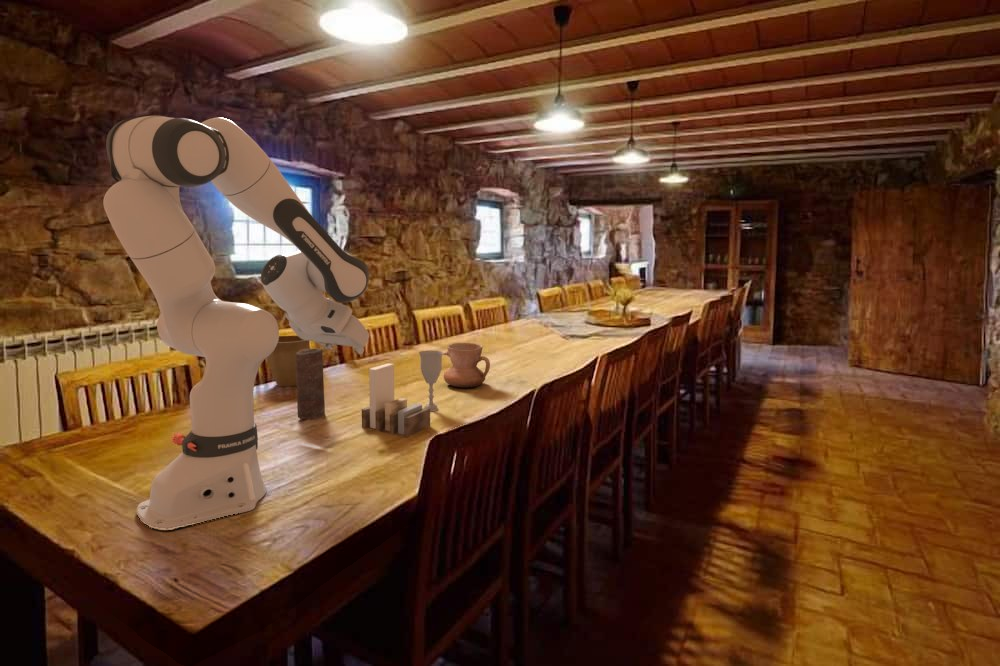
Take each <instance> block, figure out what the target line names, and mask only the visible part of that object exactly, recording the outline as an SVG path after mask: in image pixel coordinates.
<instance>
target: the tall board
mask: <svg viewBox="0 0 1000 666" xmlns="http://www.w3.org/2000/svg"><path fill="white" fill-rule="evenodd" d="M368 377H369V378H368V379H369V380H368V384H369V385H368V386H369V387H368V388H369V394H368V395H369V406H370V428H374V429H376V419H375V412H377V411H379V410H382V409H384V408H385V404H387V403H389V402H392V401H394V400H395V363H385V364H381V365H377V366H374V367H370V368H368Z"/></svg>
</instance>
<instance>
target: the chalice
mask: <svg viewBox="0 0 1000 666" xmlns="http://www.w3.org/2000/svg"><path fill="white" fill-rule="evenodd" d="M443 352H444V351H441V350H432V349H431V350H421V351H419V352H418V354H419V357H420V371H421V375H422V376H423V377H422V378H423V379H424V381H425V383H426V384H428V386H429V388H428V392H429V394H428V396H427V397H428V398H429V399H428V400H429V402H428V403H427V404H425V406H424V408H423V409H425V408H430V412H437V411H438V410H439V408H438V405H437V404H436V403H434V402H433V399H434V398H435V395H434V394H433V393H434V391H435V390H434V387H433V386H434V384H437V382H438V379H439V377H440V374H441V372H442V370H443V369H442V368H443V366H442V362H443V361H442V359H443V356H444V355H443Z"/></svg>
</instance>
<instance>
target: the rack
mask: <svg viewBox="0 0 1000 666" xmlns="http://www.w3.org/2000/svg"><path fill="white" fill-rule="evenodd" d="M424 408H425V407H424ZM424 408H422V410H420V411H418V412H416V413H413V414H411V415H409V416H407V417H404V435H403V434H398V411H397V412H395V413H393V414H390V431H388V430H385V408H384V409H382V410H379V411H377V412H375V419H376V429H374V428H370V405H368V406H367V407H364V408H361V428H362V429H368V430H371V431H376V432H381V433H384V434H385V433H387V434H391V435H395V436H400V437H405V438H410V437H412V436H414V435H416V434H418V433H420V432H422V431H424V430H427V428H430V427H431V411H430V408H425V409H424Z"/></svg>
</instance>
